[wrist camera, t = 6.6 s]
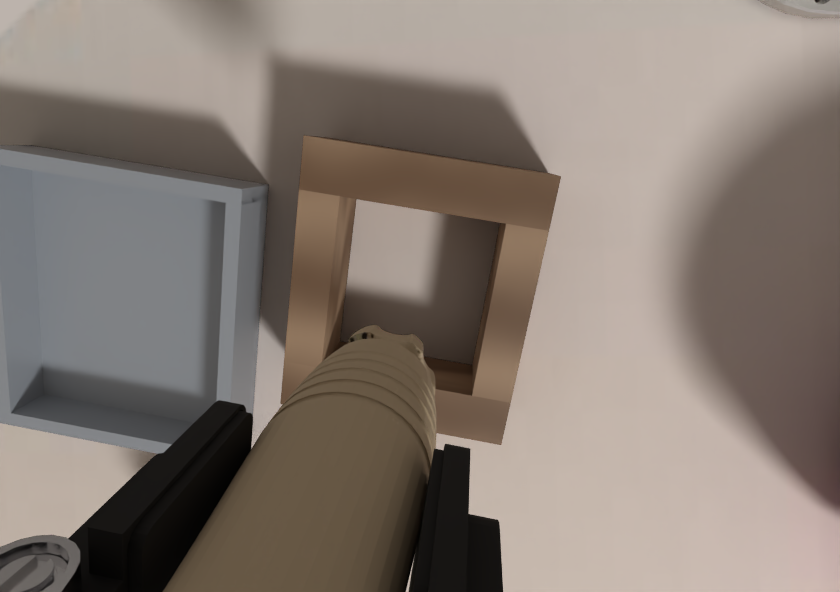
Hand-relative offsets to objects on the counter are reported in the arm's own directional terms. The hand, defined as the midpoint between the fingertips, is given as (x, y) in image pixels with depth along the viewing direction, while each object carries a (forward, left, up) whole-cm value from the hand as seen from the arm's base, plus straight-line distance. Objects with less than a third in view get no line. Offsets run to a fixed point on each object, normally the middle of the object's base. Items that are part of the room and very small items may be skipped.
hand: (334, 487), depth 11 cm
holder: (0, 0, -19) cm, 19 cm away
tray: (+4, -16, -19) cm, 26 cm away
